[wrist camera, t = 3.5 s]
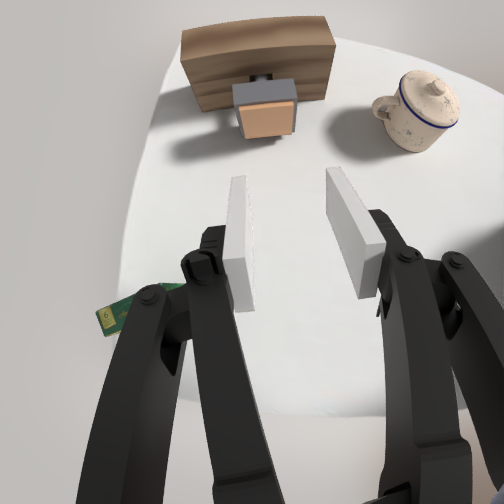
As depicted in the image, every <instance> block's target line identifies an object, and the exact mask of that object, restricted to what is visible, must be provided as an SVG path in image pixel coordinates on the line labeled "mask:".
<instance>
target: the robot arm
mask: <svg viewBox="0 0 504 504" xmlns="http://www.w3.org/2000/svg"><path fill="white" fill-rule="evenodd" d="M326 214H327V216H328V219H329V221H330V224H331V226H332V229H333V231H334V234H335V237H336V239H337V242H338V244H339V247H340V250H341V252H342V255H343V258H344V261H345V263H346V266H347V269H348V272H349V274H350V277H351V280H352V283H353V286H354V289H355V292H356V295H357V298H358V299H364V298H371V297H376V293H377V288H379V291H380V293H381V298H380V302H379V306H378V310H377V315H376V317H379V314H381V324H382V335H383V347H384V363H385V384H386V450H385V464H384V468H383V471H382V473H381V477H380V482H379V491H378V498H377V499H374V500H371V501H368V502H365V503H363V504H472V452H471V447H470V444H469V443H468V441H466V440H465V439H463V438H462V437H461V435H460V429H459V418H458V409H457V400H456V393H455V386H454V379H453V373H452V369H453V371H454V374H455V376H456V378H457V381H458V383H459V386H460V388H461V391H462V394H463V396H464V399H465V401H466V404H467V407H468V410H469V412H470V415H471V418H472V421H473V424H474V427H475V430H476V433H477V436H478V439H479V442H480V446H481V449H482V453H483V456H484V460H485V463H486V466H487V469H488V473H489V475H490V477H491V480H492V482H493V484H494V486H495V488H496V489H497V491H498V493H497V494H496V495H494V497H493V498H492V501H491V504H504V310H503V308H502V307H501V305H500V304H499V302H498V300H497V299H496V297H495V296H494V294H493V293H492V291H491V290H490V288H489V287H488V285H487V284H486V283H485V281H484V280H483V278H482V277H481V275H480V274H479V273H478V271H477V270H476V268H475V267H474V266H473V264H472V263H471V262H470V260H469V259H468V258H467V257H466V256H464V255H463V254H461V253H458V252H454V251H449V252H446V253H444V255H443V256H442V259H441V261H437V260H429V259H424V258H423V256H422V254H421V253H420V252H419V251H418V250H417V249H415V248H413V247H410V246H407V245H406V243H405V241H404V240H403V238H402V237H401V235H400V233H399V232H398V230H397V229H396V228H395V226H394V224H393V223H392V221H391V220H390V218H389V217H388V215H387V214H385V213H384V212H383V211H381V210H380V209H376V210H367V208H366V207H365V205H364V203H363V202H362V200H361V199H360V197H359V195H358V194H357V192H356V191H355V189H354V188H353V186H352V185H351V183H350V181H349V180H348V178H347V177H346V175H345V174H344V172H343V171H342V169H341V168H340V167H333V168H326ZM181 268H182V271H183V274H184V276H185V279H186V282H187V283H186V284H184V285H182V286H180V287H178V288H175V289H172V290H169V291H166V290H165V288H164V287H163V286H161V285H156V284H153V285H148V286H145V287H143V288H141V289H140V290H139V291H138V292H137V293H136V294H135V296H134V297H133V300H132V302H131V305H130V308H129V310H128V313H127V316H126V319H125V321H124V324H123V327H122V330H121V333H120V335H119V338H118V341H117V344H116V347H115V350H114V353H113V356H112V359H111V363H110V366H109V369H108V372H107V375H106V378H105V382H104V385H103V388H102V392H101V395H100V399H99V402H98V406H97V409H96V413H95V417H94V421H93V424H92V428H91V432H90V436H89V441H88V444H87V449H86V453H85V458H84V462H83V467H82V472H81V477H80V482H79V488H78V493H77V498H76V504H163V496H164V487H165V478H166V471H167V463H168V456H169V448H170V441H171V434H172V427H173V421H174V415H175V408H176V402H177V396H178V390H179V384H180V378H181V372H182V367H183V361H184V355H185V350H186V344H187V340H190V339H192V340H193V349H194V357H195V365H196V372H197V380H198V387H199V394H200V400H201V407H202V413H203V419H204V425H205V431H206V437H207V442H208V448H209V454H210V459H211V464H212V469H213V475H214V483H213V487H212V491H213V500H214V504H285V501H284V498H283V495H282V492H281V489H280V486H279V483H278V479H277V476H276V472H275V469H274V465H273V462H272V458H271V455H270V452H269V448H268V444H267V441H266V438H265V434H264V430H263V427H262V423H261V419H260V415H259V412H258V408H257V404H256V401H255V397H254V393H253V389H252V386H251V382H250V378H249V374H248V370H247V366H246V362H245V358H244V354H243V350H242V346H241V342H240V338H239V334H238V330H237V326H236V322H235V318H234V315H233V312H234V309H235V313H238V312H250V311H255V300H254V254H253V218H252V212H251V205H250V198H249V191H248V184H247V178H246V176H239V177H231V186H230V194H229V203H228V212H227V221H226V225H221V226H213V227H208V228H207V229H206V230H205V232H204V233H203V234H202V238H201V243H200V249H197V250H194V251H191V252H190V253H188V254H187V255H185V257H184V258H183V259H182V261H181ZM457 302H458V304H459V306H460V308H459V307H458V306H457ZM451 366H452V368H451Z"/></svg>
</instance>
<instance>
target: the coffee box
mask: <svg viewBox="0 0 504 504" xmlns="http://www.w3.org/2000/svg"><path fill="white" fill-rule="evenodd" d="M156 285H161V286H163V287H164V288H165V290H166V291H169V290H172V289H175V288H178V287H180V286H182V285H184V284H177V283H158V284H156ZM134 296H135V294H134V295H131V296H129V297H127V298H125V299H122V300H120V301H118V302H116V303H113V304H111V305H109V306H107V307H104V308H102V309H100V310H98V311H96V316H97V318H98V321H99V323H100V326H101V328H102V331H103V334H104V336H105V337H107V336H111V335H114V334H117V333H121V330H122V327H123V324H124V321H125V319H126V316H127V313H128V310H129V308H130V305H131V302H132V300H133V297H134Z"/></svg>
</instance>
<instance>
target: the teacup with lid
mask: <svg viewBox="0 0 504 504" xmlns="http://www.w3.org/2000/svg"><path fill="white" fill-rule="evenodd" d="M384 105H388V107H387V109H386V111H385V112H382V111H379V110H378V109H379V108H380V107H382V106H384ZM372 110H373V114H374V115H375V116H376V117H377V118H379V119H382V120H384V125H385V128H386V131H387V133H388V134H389V136H390V137H391V138H392V140H393V141H394V142H395V143H397V144H398V145H399V146H401V147H402V148H404V149H406V150H409V151H413V152H421V151H425V150H427V149H428V148H429V147H430V146H431V145H432V144H433V143H434V142H435V141H436V140H437V139H438V138H439V137H440V136H441V135H442V134H443V133H444V132H445V131H446V130H447V129H448V128H450V127H452V126H454V125H455V124H456V123H457V121H458V118H459V114H460V107H459V103H458V100H457V98H456V96H455V94H454V92H453V91H452V89H451V88H450V87H449V86H448V85H447V84H446V83H445V82H444V81H443V80H442V79H440V78H439V77H437V76H435V75H434V74H431V73H429V72H426V71H420V70H416V71H411V72H408V73H407V74H405V75H404V76H403V77H402V78H401V80H400V83H399V87H398V89H397V91H396V93H395V95H394V96H383V97H380V98H377V99H376V100H375V101H374V102H373V104H372Z"/></svg>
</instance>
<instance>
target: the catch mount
mask: <svg viewBox="0 0 504 504" xmlns="http://www.w3.org/2000/svg"><path fill="white" fill-rule="evenodd" d="M335 48H336V44H335V41H334V39H333V36H332V34H331V32H330V29H329V26H328V24H327V22H326V19H325V17H324V16H292V17H273V18H261V19H251V20H242V21H234V22H227V23H221V24H214V25H209V26H204V27H198V28H193V29H189V30H184V31H182V40H181V57H180V62H181V64H182V66H183V69H184V71H185V73H186V75H187V78H188V80H189V82H190V84H191V87H192V89H193V91H194V94H195V96H196V98H197V101H198V103H199V105H200V107H201V110H202V112H206V111H212V110H218V109H225V108H232V107H234V100H233V89H232V85H234V84H241V83H249V82H255V75H260V74H267V79H268V80H279V79H294V84H295V88H296V93H297V98H298V100H297V101H301V100H321V99H325V94H326V90H327V85H328V81H329V76H330V72H331V67H332V62H333V58H334V53H335Z"/></svg>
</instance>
